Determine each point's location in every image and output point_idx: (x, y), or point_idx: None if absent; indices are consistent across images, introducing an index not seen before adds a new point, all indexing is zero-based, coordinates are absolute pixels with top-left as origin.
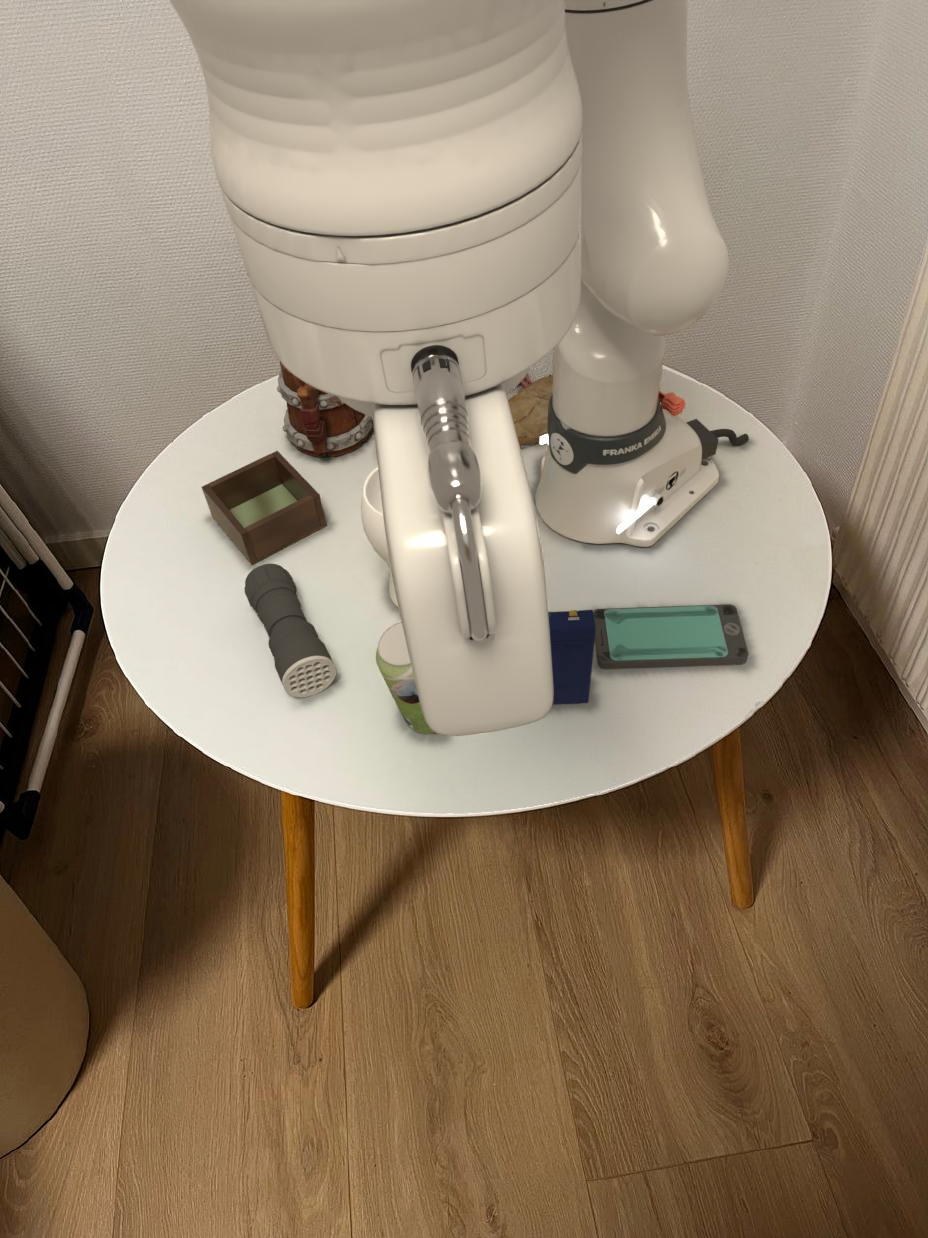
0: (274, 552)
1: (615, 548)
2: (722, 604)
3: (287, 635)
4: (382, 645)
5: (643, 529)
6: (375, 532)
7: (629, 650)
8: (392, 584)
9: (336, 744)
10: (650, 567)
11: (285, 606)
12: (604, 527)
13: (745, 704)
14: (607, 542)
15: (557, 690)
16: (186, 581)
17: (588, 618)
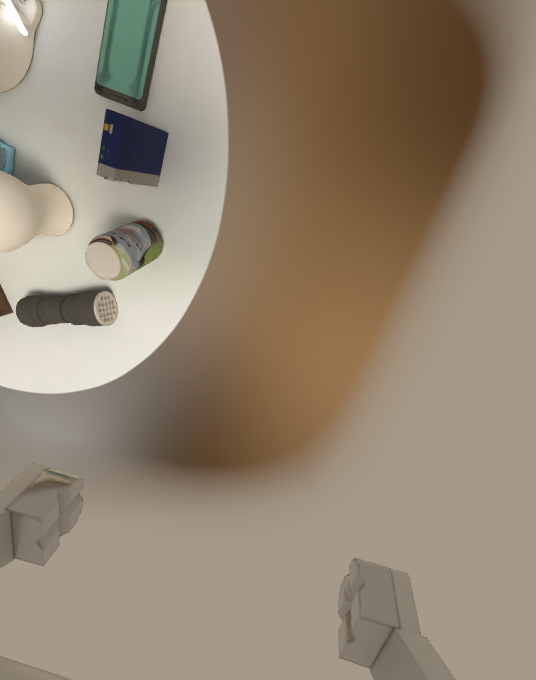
0: (5, 296)
1: (39, 41)
2: None
3: (74, 316)
4: (101, 275)
5: (24, 4)
6: (4, 249)
7: (136, 80)
8: (45, 234)
9: (153, 303)
10: (63, 18)
11: (52, 310)
12: (18, 42)
13: (203, 6)
14: (32, 45)
15: (156, 154)
16: (19, 351)
17: (113, 116)
